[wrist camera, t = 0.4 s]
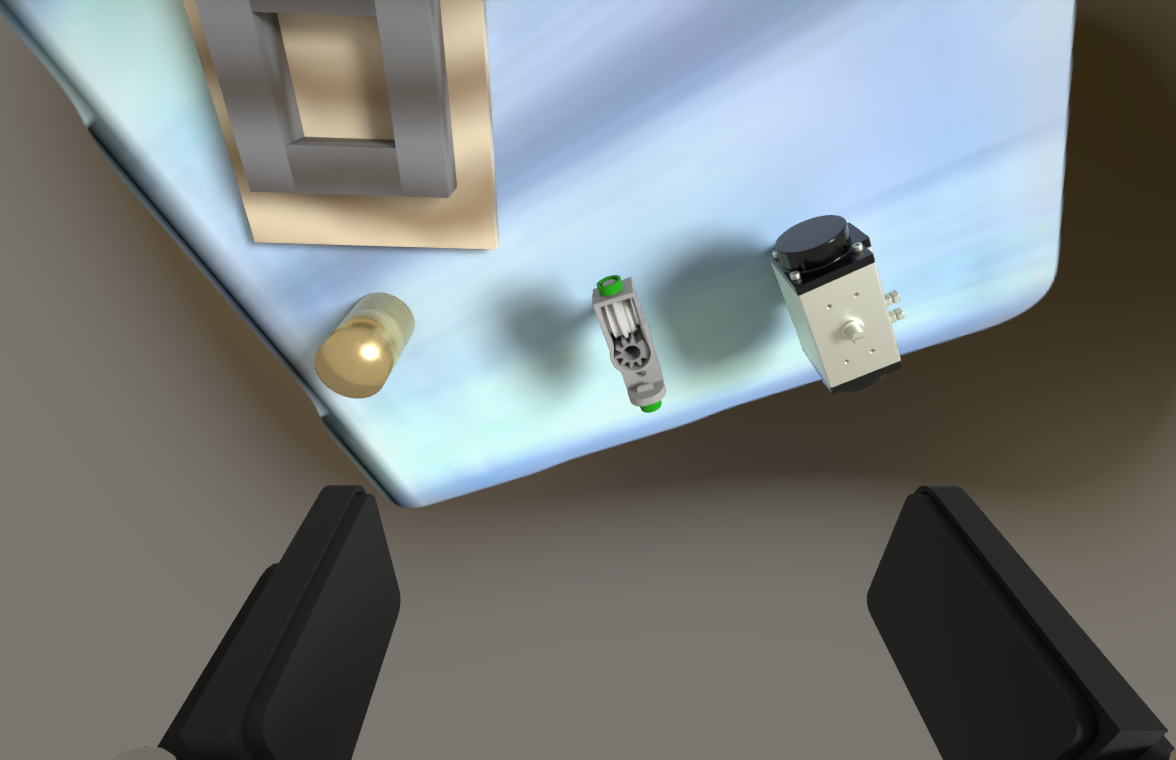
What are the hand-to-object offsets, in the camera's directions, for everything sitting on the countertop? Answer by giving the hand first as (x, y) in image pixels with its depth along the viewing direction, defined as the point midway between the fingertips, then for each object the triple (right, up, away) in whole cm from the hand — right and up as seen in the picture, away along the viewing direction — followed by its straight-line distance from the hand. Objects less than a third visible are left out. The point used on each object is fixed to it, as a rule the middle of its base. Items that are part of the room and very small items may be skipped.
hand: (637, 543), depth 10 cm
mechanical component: (+2, +10, +36) cm, 37 cm away
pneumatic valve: (+16, +12, +34) cm, 40 cm away
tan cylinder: (-18, +8, +37) cm, 42 cm away
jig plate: (-16, +23, +27) cm, 39 cm away
